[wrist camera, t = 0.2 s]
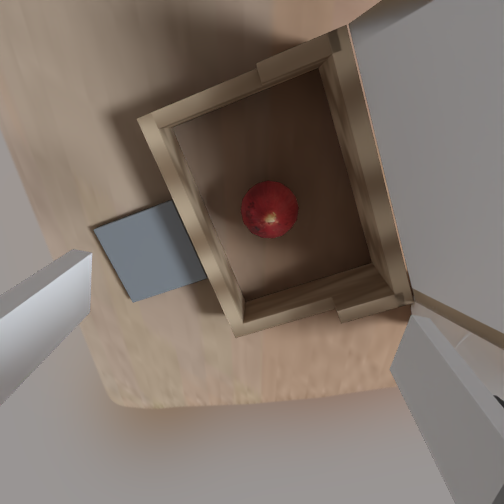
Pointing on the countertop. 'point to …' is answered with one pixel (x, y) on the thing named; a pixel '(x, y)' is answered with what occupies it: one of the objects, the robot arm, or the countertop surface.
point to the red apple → (269, 209)
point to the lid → (442, 147)
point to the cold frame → (359, 172)
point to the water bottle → (471, 350)
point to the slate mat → (151, 251)
